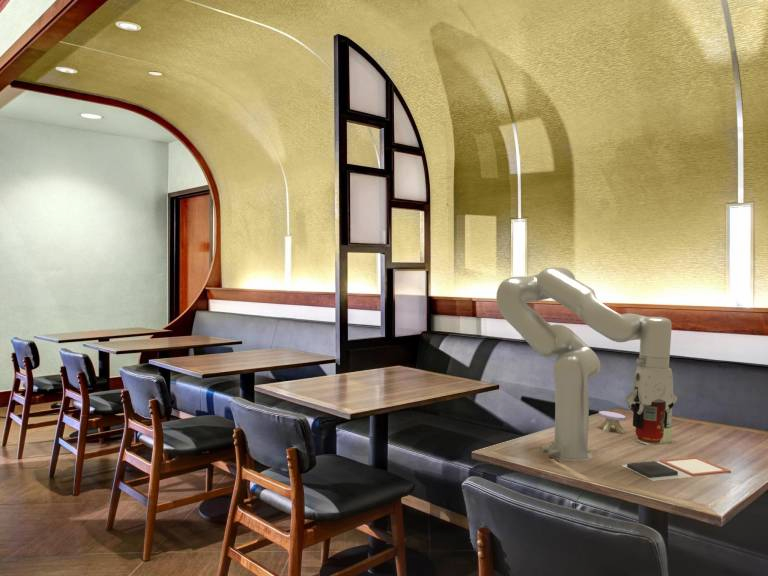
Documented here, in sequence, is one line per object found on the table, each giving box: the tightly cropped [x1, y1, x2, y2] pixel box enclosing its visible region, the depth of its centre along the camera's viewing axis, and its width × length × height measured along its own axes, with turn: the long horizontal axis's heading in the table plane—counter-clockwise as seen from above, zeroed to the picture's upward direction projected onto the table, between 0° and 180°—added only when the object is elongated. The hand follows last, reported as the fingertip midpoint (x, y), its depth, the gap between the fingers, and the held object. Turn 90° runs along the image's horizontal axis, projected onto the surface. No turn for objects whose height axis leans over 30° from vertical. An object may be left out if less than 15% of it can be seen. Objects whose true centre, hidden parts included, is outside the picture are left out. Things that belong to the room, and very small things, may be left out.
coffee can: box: [636, 407, 673, 446], centre depth 201 cm, size 10×10×14 cm
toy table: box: [598, 410, 627, 434], centre depth 215 cm, size 10×9×6 cm
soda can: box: [634, 399, 666, 445], centre depth 169 cm, size 7×7×12 cm
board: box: [621, 461, 727, 482], centre depth 171 cm, size 24×13×1 cm, turn 106°
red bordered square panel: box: [659, 456, 732, 477], centre depth 173 cm, size 13×13×1 cm
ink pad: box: [626, 460, 678, 479], centre depth 169 cm, size 9×9×1 cm
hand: (649, 426), depth 169 cm, fingers closed on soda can, 7 cm apart
